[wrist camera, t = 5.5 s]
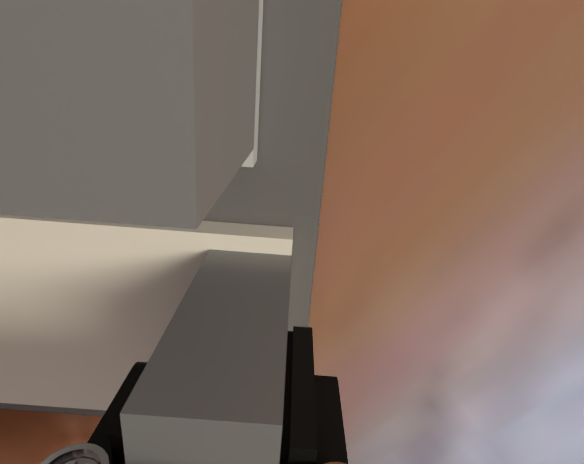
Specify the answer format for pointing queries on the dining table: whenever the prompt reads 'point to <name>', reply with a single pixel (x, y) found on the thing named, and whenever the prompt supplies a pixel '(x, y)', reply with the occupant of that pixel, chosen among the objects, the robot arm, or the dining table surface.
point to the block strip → (151, 331)
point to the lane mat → (283, 144)
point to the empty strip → (126, 107)
